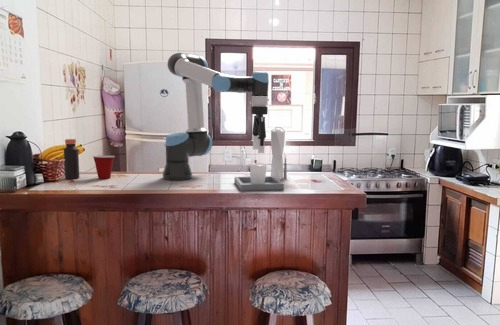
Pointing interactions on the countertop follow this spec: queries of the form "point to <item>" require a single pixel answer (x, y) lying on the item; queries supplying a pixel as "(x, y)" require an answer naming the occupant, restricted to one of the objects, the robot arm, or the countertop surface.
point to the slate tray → (269, 185)
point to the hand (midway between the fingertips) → (258, 151)
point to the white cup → (257, 173)
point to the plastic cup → (103, 166)
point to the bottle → (71, 159)
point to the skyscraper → (278, 154)
